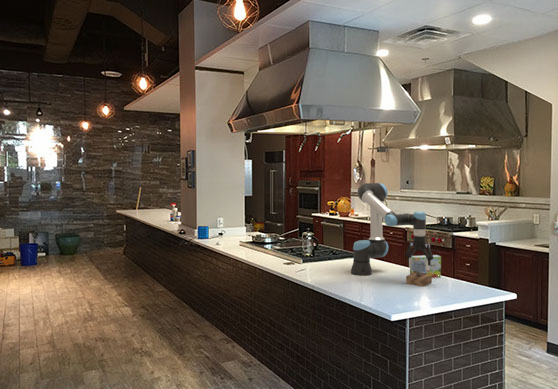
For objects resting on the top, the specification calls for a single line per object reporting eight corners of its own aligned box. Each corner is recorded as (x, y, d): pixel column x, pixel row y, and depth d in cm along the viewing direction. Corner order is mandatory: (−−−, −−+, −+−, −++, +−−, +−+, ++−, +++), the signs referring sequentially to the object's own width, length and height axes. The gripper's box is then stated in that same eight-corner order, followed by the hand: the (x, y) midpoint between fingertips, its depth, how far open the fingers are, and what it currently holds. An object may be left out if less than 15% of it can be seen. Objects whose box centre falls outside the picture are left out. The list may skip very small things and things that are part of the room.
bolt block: (406, 283, 316) (406, 263, 316) (414, 280, 325) (414, 261, 325) (423, 286, 308) (423, 266, 308) (431, 283, 317) (431, 263, 317)
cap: (416, 268, 321) (416, 259, 321) (426, 270, 317) (426, 261, 316) (411, 270, 316) (411, 261, 316) (421, 272, 311) (421, 262, 311)
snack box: (413, 279, 330) (414, 257, 330) (409, 277, 336) (409, 255, 335) (441, 277, 336) (441, 255, 335) (436, 275, 341) (436, 254, 341)
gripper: (400, 234, 320) (399, 267, 321) (434, 237, 305) (434, 272, 306) (405, 233, 326) (404, 265, 327) (439, 236, 310) (438, 270, 311)
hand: (419, 268), depth 316 cm, fingers open, 11 cm apart
